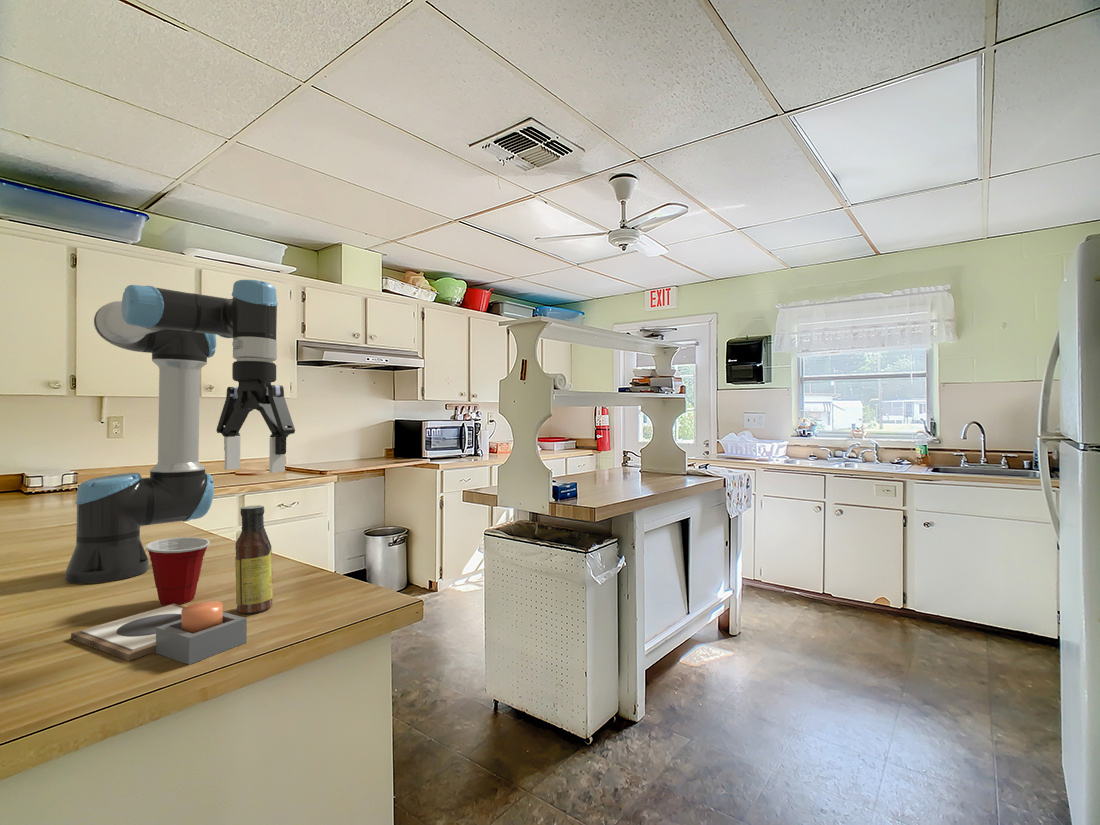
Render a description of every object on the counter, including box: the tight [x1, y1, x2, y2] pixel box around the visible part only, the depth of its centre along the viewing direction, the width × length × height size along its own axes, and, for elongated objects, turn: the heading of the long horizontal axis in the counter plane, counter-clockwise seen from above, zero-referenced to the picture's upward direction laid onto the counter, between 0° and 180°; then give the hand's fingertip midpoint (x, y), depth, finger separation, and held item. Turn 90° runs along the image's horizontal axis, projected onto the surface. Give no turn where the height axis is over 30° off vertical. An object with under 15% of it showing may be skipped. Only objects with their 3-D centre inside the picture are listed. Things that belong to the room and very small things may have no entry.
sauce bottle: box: [234, 504, 274, 615], centre depth 104 cm, size 6×6×20 cm
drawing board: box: [70, 604, 185, 662], centre depth 93 cm, size 18×16×1 cm
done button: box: [181, 600, 224, 634], centre depth 87 cm, size 6×6×4 cm
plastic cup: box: [145, 536, 211, 606], centre depth 109 cm, size 11×11×12 cm
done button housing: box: [155, 611, 248, 665], centre depth 87 cm, size 9×9×4 cm
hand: (254, 470), depth 104 cm, fingers open, 13 cm apart
